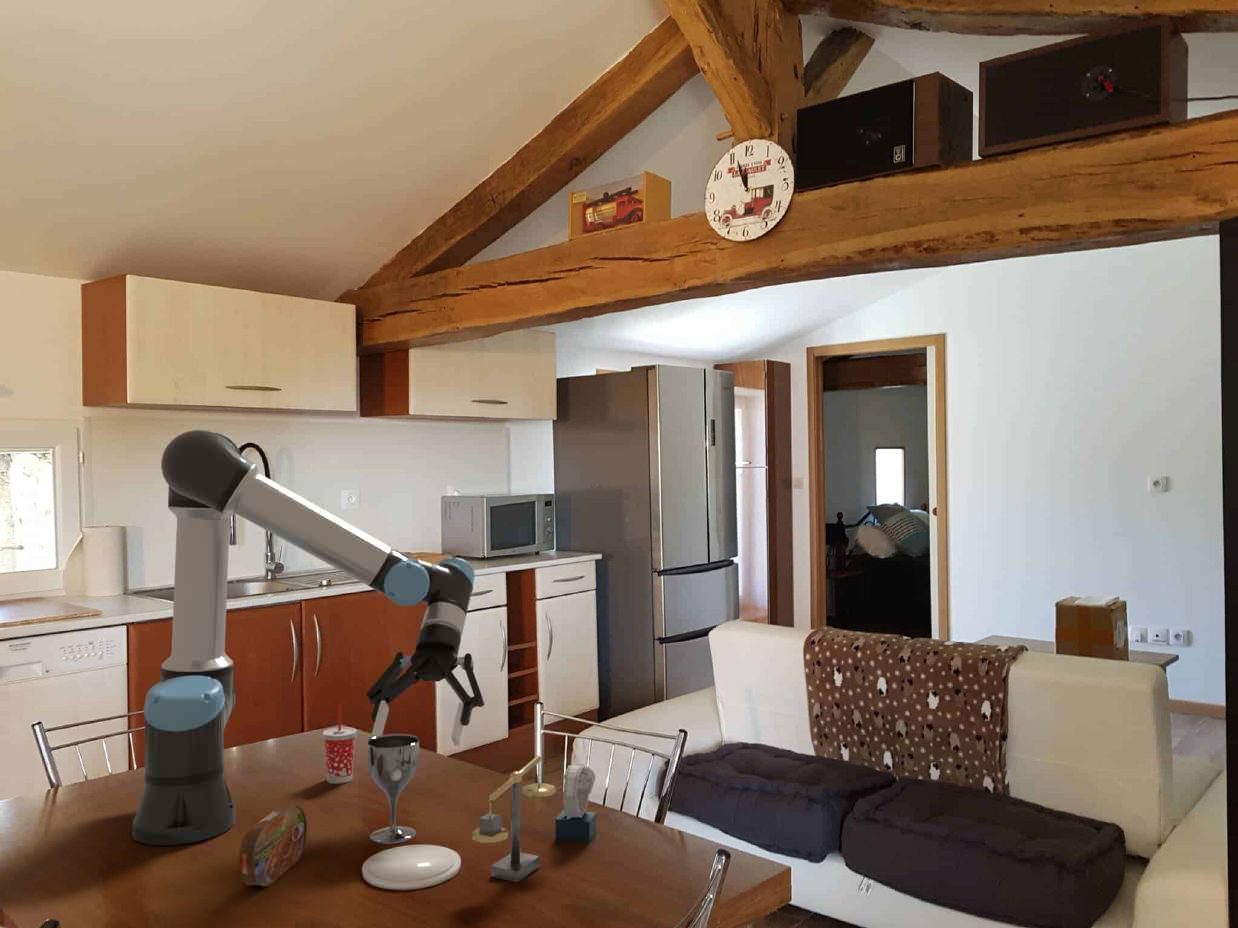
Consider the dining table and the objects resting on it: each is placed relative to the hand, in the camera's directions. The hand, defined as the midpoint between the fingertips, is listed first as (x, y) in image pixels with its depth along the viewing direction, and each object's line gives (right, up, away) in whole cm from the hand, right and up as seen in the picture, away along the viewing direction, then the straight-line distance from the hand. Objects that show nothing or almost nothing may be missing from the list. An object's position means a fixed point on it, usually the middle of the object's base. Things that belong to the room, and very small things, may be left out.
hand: (415, 740), depth 160 cm
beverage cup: (-18, -13, +21) cm, 31 cm away
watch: (+27, -13, -7) cm, 31 cm away
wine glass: (-2, -13, -7) cm, 15 cm away
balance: (+19, -13, -21) cm, 31 cm away
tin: (-16, -13, -21) cm, 30 cm away
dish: (+4, -13, -20) cm, 24 cm away
